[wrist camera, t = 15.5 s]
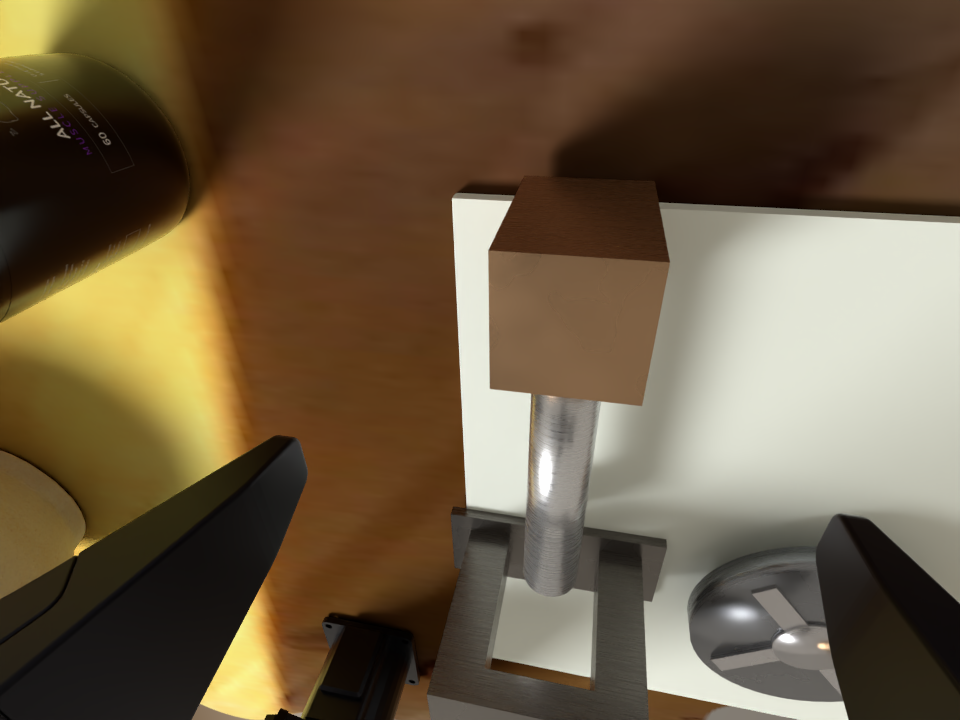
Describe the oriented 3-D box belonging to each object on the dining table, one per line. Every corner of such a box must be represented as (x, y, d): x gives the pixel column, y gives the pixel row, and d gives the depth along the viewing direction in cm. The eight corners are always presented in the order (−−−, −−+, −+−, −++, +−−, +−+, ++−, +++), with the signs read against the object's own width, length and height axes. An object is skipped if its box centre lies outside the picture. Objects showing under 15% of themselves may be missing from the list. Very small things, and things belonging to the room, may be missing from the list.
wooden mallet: (600, 515, 25) (596, 640, 20) (515, 502, 26) (492, 621, 21) (654, 181, 17) (670, 262, 12) (524, 175, 17) (488, 250, 12)
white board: (935, 736, 31) (950, 773, 30) (475, 644, 36) (469, 672, 34) (1462, 240, 14) (1559, 269, 13) (456, 192, 19) (442, 210, 18)
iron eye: (651, 593, 28) (662, 785, 21) (456, 559, 30) (410, 726, 23) (666, 539, 26) (683, 737, 19) (453, 506, 28) (399, 676, 21)
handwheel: (1179, 699, 23) (1277, 824, 19) (798, 738, 31) (820, 832, 27) (1065, 464, 18) (1170, 577, 14) (645, 583, 26) (650, 674, 22)
